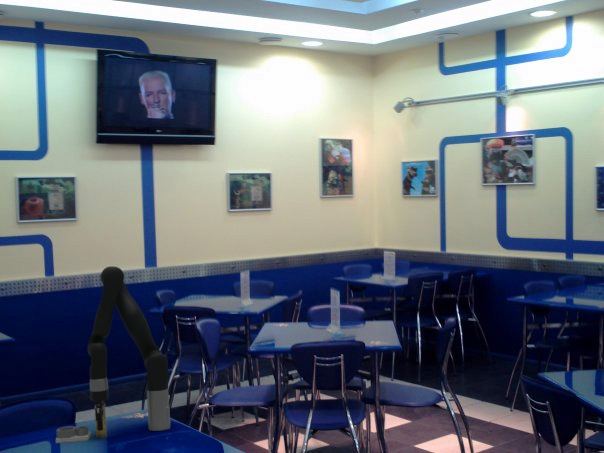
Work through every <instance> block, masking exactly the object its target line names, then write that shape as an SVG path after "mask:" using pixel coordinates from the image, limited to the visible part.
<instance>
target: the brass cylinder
mask: <svg viewBox="0 0 604 453" xmlns="http://www.w3.org/2000/svg"><path fill="white" fill-rule="evenodd" d="M94 417H95V418H94V419H95V420H94V422H95V437H96V438H97V439H102V438H103V439H104V438H106V437H107V436H108V434H107V431H108V430H107V415H106V411H105V412H104V416H103V430H102V431H98V428H97V421H96V416H95V415H94ZM98 418H101V417H100V416H99V417H98Z"/></svg>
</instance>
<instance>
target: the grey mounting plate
mask: <svg viewBox="0 0 604 453" xmlns="http://www.w3.org/2000/svg"><path fill="white" fill-rule="evenodd" d="M91 435H92V431H89V426H88V425H81V426H77V427H76V426H75V425H74V426H73V425H70V426H63V427H62V426H61V427H58V428H57V429H56V438H55V444H61V443H72V442H74V443H75V442H84V441H85V442H86V441H89V440H90V437H91Z"/></svg>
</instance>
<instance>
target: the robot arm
mask: <svg viewBox="0 0 604 453" xmlns="http://www.w3.org/2000/svg"><path fill="white" fill-rule="evenodd" d="M124 273H125V272H124V271H123V270H122V269H121V268H120V267H118V266H113V265H112V266H111V265H110V266H106V267H105V268H104V269H103V270H102V271H101V273H100V281H101V283H102V286H103V287H102V293H101V294H102V295H101V298H100V303H99V305H98V308H97V311H96V315H95V318H94V323H93V327H92V332H91V335H90V336H89V337H90V338H89V341H88V344H87V347H86V348H87V350H86V351H87V354H88V355H89V356H90V367H89V398H90V401H91V402H95V405H94V411H95V413H94V417H95V416H96V421H97V428H98V431H102V430H103V416H104V412H106V402H105V401H107V400H109V396H110V395H109V394H110V393H109V382H108V370H107V363H108V349H107V346H106V345H105V344H106V341H107V337H108V336H109V335H110V330H111V328H112V327H111V326H112V322H113V318H114V312H115V308H116V310H117V312H118V315H119V317H120V319H121V321H122V323H123V326H124V327H125V330H126V331H127V333H128V334H129V336H130V337H131V339H132V340H133V342H134V343H135V345H136V346H137V348H138V350H139V353H140V355H141V357H142V361H143V363H144V367H145V368H146V399H147V403H146V404H147V420H148V422H147V423H148V430H149V431H153V432H155V431H158V432H161V431H166V430H170V429H171V415H170V414H171V413H170V411H171V410H170V399H169V398H170V397H169V396H170V395H169V378H170V377H169V361H168V359H167V356H166V355H164V353H162V351H161V350H160V349H159V347H158V345H157V344H156V341H154V339H153V336H152V333H151V329H150V327H149V324H148V321H147V319H146V317H145V315H144V313H143V311H142V309H141V307H140V306H139V304H138V303H137V302H136V300H135V299H134V297H132V295H131V294H130V292H129V290H128V289H127V286H126V283H125V274H124ZM99 416H100V417H101V418H98V417H99Z"/></svg>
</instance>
